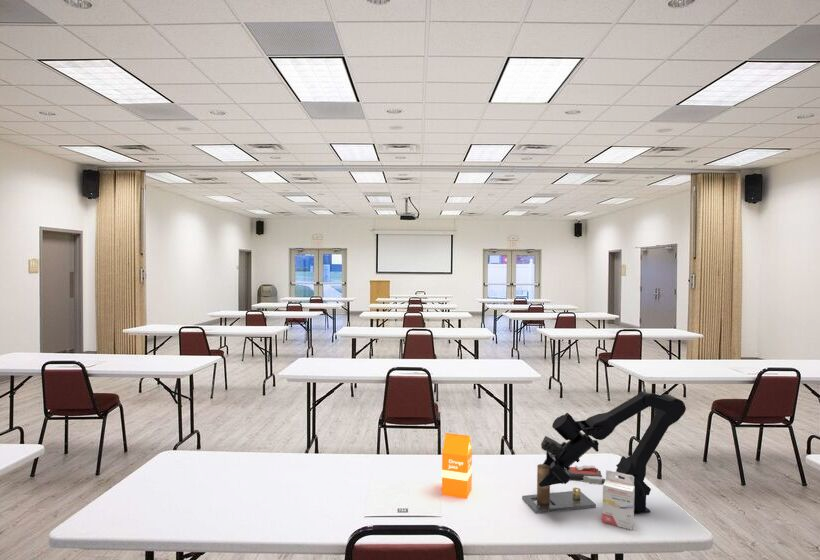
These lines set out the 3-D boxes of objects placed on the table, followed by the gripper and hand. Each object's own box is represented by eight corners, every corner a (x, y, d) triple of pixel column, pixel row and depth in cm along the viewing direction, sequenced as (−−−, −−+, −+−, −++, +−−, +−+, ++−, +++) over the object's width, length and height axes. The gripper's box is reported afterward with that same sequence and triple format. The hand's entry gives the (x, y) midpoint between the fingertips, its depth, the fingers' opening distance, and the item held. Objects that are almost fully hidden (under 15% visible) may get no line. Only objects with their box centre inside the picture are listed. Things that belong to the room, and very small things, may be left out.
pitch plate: (596, 507, 156) (596, 495, 156) (535, 513, 152) (535, 500, 152) (579, 493, 166) (579, 481, 166) (522, 498, 162) (522, 486, 162)
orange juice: (467, 498, 162) (467, 439, 161) (441, 494, 164) (442, 436, 164) (471, 488, 169) (472, 432, 169) (447, 485, 172) (447, 429, 171)
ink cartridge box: (601, 522, 147) (602, 474, 146) (604, 515, 151) (604, 469, 151) (632, 530, 142) (633, 481, 142) (634, 523, 147) (635, 475, 146)
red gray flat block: (566, 483, 175) (625, 487, 172) (567, 471, 175) (625, 474, 172) (562, 473, 183) (618, 476, 181) (562, 461, 183) (618, 465, 181)
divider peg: (551, 506, 156) (552, 468, 156) (540, 508, 156) (540, 469, 155) (545, 501, 160) (546, 463, 160) (534, 502, 160) (535, 464, 159)
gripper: (554, 421, 166) (520, 450, 168) (558, 439, 147) (521, 472, 150) (578, 445, 164) (544, 475, 167) (585, 467, 146) (547, 500, 149)
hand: (538, 479), depth 158 cm, fingers open, 9 cm apart
